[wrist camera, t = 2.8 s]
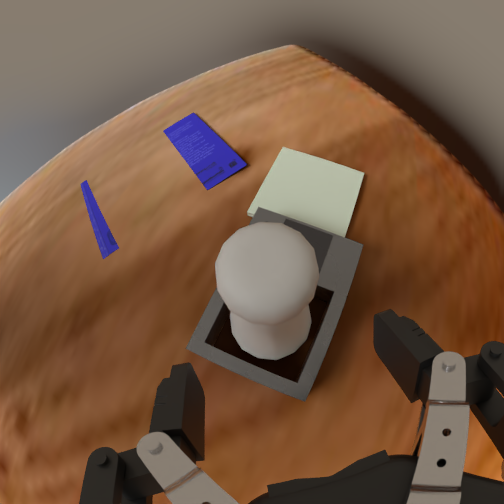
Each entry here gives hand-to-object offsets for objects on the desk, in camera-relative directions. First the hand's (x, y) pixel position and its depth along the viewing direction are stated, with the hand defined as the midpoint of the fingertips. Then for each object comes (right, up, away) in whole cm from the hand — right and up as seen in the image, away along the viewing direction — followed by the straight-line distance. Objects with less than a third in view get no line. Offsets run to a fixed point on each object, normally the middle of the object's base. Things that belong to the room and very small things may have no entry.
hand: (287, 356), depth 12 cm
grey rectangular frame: (+1, 0, +12) cm, 12 cm away
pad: (+4, +10, +16) cm, 19 cm away
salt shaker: (0, -2, +11) cm, 11 cm away
